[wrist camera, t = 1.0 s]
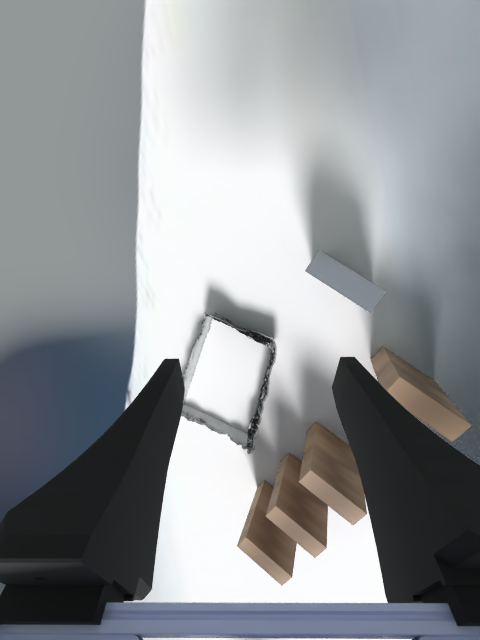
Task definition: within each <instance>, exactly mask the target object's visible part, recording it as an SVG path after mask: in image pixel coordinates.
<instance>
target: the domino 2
mask: <svg viewBox="0 0 480 640" xmlns="http://www.w3.org/2000/svg"><path fill="white" fill-rule="evenodd" d="M301 465H302V462H301V461H299V460H298V459H297V458H295V457H294V456H293V455H292V454H290V453H288V454H287V455H286V456H285V457H284V458H283V460H282V461H281V462H280V466H279V470H278V473H277V477H276V481H275V484H274V488H273V491H272V495H271V499H270V502H269V506H268V510H267V513H266V517H267V518H268V519H269V520H271V521H272V522H273V523H274V524H275V525H276V526H278V527H279V528H280V529H281V530H282V531H284V532H285V533H286V534H287V535H288V536H290V537H291V538H292V539H293V540H294V541H295V542H297V543H298V544H299V545H300V546H301V547H303V548H304V549H305V550H306V551H307V552H309V553H310V554H311V555H312V556H313V557H314V558H315V557H316V556H318V555H319V554H320V553H321V552H322V551H323V550H325V549H326V546H327V514H328V505H327V504H326V503H324V502H323V501H322V500H321V499H319V498H318V497H317V496H316V495H314V494H313V493H312V492H311V491H309V490H308V489H307V488H306V487H304V486H303V485H302V484H301V483H299V477H300V471H301Z"/></svg>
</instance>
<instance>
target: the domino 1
mask: <svg viewBox="0 0 480 640" xmlns="http://www.w3.org/2000/svg"><path fill="white" fill-rule="evenodd" d="M273 488H274V487H273V486H271V485H270V484H269V483H268V482H267V481H265V480H264V481H263V482H262V483H261V484H260V486H259V487H258V488H257V490H256V493H255V496H254V499H253V502H252V505H251V508H250V510H249V513H248V516H247V519H246V522H245V525H244V528H243V531H242V534H241V536H240V539H239V542H238V545H237V546H238V547H239V548H240V549H241V550H242V551H243V552H244V553H245V554H247V555H248V556H249V557H250V558H251V559H252V560H253V561H255V562H256V563H257V564H258V565H259V566H260V567H261V568H263V569H264V570H265V571H266V572H267V573H268V574H269V575H270V576H272V577H273V578H274V579H275V580H276V581H277V582H278V583H280V584H281V585H283V584H284V583H286V582H287V581H288V580H289V579H290V578H292V573H293V566H294V559H295V551H296V544H297V542H295V541H294V540H293V539H292V538H291V537H290V536H288V535H287V534H286V533H285V532H284V531H282V530H281V529H280V528H279V527H278V526H276V525H275V524H274V523H273V522H272V521H271V520H269V519H268V518H267V517H266V513H267V510H268V506H269V502H270V499H271V495H272V491H273Z"/></svg>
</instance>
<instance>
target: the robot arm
mask: <svg viewBox="0 0 480 640" xmlns="http://www.w3.org/2000/svg"><path fill="white" fill-rule="evenodd" d="M332 390H333V395H334V399H335V403H336V408H337V411H338V414H339V417H340V419H341V422H342V425H343V428H344V431H345V433H346V436H347V439H348V441H349V444H350V447H351V450H352V452H353V455H354V458H355V461H356V464H357V467H358V471H359V474H360V478H361V482H362V486H363V490H364V494H365V498H366V502H367V506H368V510H369V515H370V519H371V523H372V528H373V533H374V537H375V542H376V547H377V552H378V557H379V562H380V567H381V572H382V578H383V583H384V589H385V595H386V598H387V601H388V603H123V602H124V601H133V600H143V599H144V598H145V597H146V596H147V595H148V593H149V592H150V591H151V589H152V582H153V573H154V564H155V555H156V547H157V539H158V531H159V523H160V516H161V509H162V502H163V495H164V489H165V483H166V476H167V470H168V465H169V461H170V457H171V453H172V449H173V445H174V441H175V437H176V433H177V429H178V425H179V421H180V417H181V413H182V408H183V401H184V394H185V386H184V381H183V377H182V372H181V367H180V362H179V359H165V360H164V361H163V362H162V363H161V365H160V366H159V368H158V369H157V370H156V372H155V373H154V375H153V376H152V377H151V379H150V380H149V382H148V383H147V384H146V386H145V387H144V388H143V389H142V391H141V392H140V393H139V395H138V396H137V397H136V398H135V400H134V401H133V402H132V403H131V404H130V405H129V407H128V408H127V409H126V410H125V411H124V412H123V414H122V415H121V416H120V417H119V418H118V419H117V420H116V421H115V422H114V424H113V425H112V426H111V427H110V428H109V429H108V430H107V431H106V432H105V433H104V434H103V435H102V436H101V437H100V438H99V439H98V440H97V441H96V442H95V443H93V445H91V446H90V447H89V448H88V449H87V450H86V451H85V452H84V453H83V454H81V455H80V456H79V457H78V458H77V459H76V460H75V461H73V462H72V463H71V464H70V465H69V466H67V467H66V468H65V469H64V470H63V471H61V472H60V473H59V474H58V475H56V476H55V477H54V478H53V479H52V480H51V481H49V482H48V483H47V484H45V485H44V486H43V487H41V488H40V489H38V490H37V491H36V492H34V493H33V494H32V495H30V496H29V497H27V498H26V499H25V500H24V501H22V502H21V503H19V504H18V505H17V506H15V507H14V508H12V509H11V510H10V511H8V512H7V514H6V515H5V517H4V518H3V520H2V521H1V523H0V582H1V583H3V584H6V586H5V588H4V590H3V592H2V593H1V595H0V640H143V639H142V638H353V639H412V640H480V466H479V465H478V464H476V463H475V462H473V461H472V460H470V459H469V458H467V457H466V456H465V455H463V454H462V453H460V452H459V451H458V450H456V449H455V448H453V447H452V446H451V445H449V444H448V443H447V442H445V441H444V440H443V439H441V438H440V437H439V436H437V435H436V434H435V433H434V432H432V431H431V430H430V429H429V428H427V427H426V426H425V425H424V424H422V423H421V422H420V421H419V420H418V419H417V418H415V417H414V416H413V415H412V414H411V413H410V412H409V411H408V410H406V409H405V408H404V407H403V406H402V405H401V404H400V403H399V402H398V401H397V400H396V399H395V398H394V397H393V396H392V395H391V394H390V393H389V392H388V391H387V390H385V389H384V388H383V387H382V385H381V384H380V383H379V382H378V381H377V380H376V379H375V378H374V377H373V376H372V375H371V374H370V373H369V372H368V371H367V370H366V369H365V368H364V367H363V366H362V364H361V363H360V362H359V361H358V360H357V359H356V358H355V357H340V361H339V364H338V368H337V371H336V375H335V379H334V382H333V386H332Z"/></svg>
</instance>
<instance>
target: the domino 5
mask: <svg viewBox="0 0 480 640" xmlns="http://www.w3.org/2000/svg"><path fill="white" fill-rule="evenodd" d="M371 362H372V365H373V368H374V370H375V373H376V376H377V379H378V381H379V383H380V384H381V385H382V387H383V388H384V389H385V390H387V391H388V392H389V393H390V394H391V395H392V396H393V397H394V398H395V399H396V400H397V401H398V402H399V403H400V404H401V405H402V406H403V407H404V408H405V409H406V410H408V411H409V412H410V413H411V414H412V415H414V416H415V417H417V418H418V419H420V420H421V421H423V422H424V423H426V424H427V425H428V426H430V427H431V428H433V429H434V430H436V431H437V432H439V433H440V434H441V435H443V436H444V437H446V438H447V439H449V440H450V441H452V442H453V441H454V440H455V439H457V438H458V437H459V436H460V435H461V434H463V433H464V432H465V431H466V430H467V429H469V428H470V427H471V426H472V425H471V424H470V423H469V421H468V420H467V419H466V418H465V417H464V415H463V414H462V413H461V412H460V411H459V409H458V408H457V407H456V406H455V405H454V404H453V402H452V401H451V400H450V399H449V398H448V396H447V395H446V394H445V393H444V392H443V390H442V389H441V388H440V387H439V386H438V384H437V383H436V382H435V381H434V380H433V379H431V378H430V377H428V376H427V375H425V374H424V373H422V372H421V371H419V370H417V369H416V368H414V367H413V366H411V365H410V364H408V363H407V362H405V361H404V360H402V359H401V358H399V357H398V356H396V355H395V354H393V353H392V352H390V351H389V350H387V349H386V348H384V347H383V346H382V348H381V349H380V350H379V351H378V352H377V353H376V354H375V355H374V357H373V358H372V359H371Z"/></svg>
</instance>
